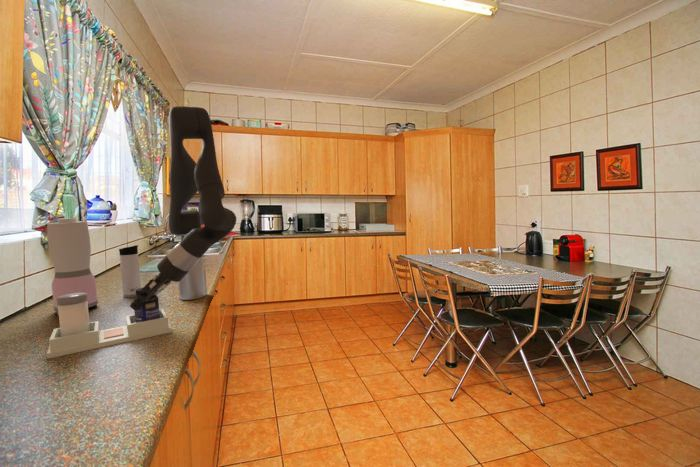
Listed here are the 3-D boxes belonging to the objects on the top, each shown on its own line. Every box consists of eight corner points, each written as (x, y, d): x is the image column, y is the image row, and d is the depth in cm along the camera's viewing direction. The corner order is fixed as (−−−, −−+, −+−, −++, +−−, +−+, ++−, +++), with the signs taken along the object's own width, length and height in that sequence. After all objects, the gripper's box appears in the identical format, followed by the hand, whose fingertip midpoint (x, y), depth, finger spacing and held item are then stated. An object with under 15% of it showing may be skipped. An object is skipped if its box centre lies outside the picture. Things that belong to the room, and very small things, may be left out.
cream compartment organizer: (166, 321, 109) (163, 279, 108) (172, 332, 100) (168, 286, 99) (52, 344, 94) (46, 295, 93) (47, 358, 85) (40, 304, 84)
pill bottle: (149, 330, 98) (146, 291, 97) (130, 330, 99) (126, 291, 98) (165, 323, 104) (162, 286, 103) (147, 322, 105) (143, 285, 104)
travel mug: (136, 297, 139) (131, 246, 137) (119, 297, 139) (114, 247, 137) (145, 293, 145) (141, 244, 143) (129, 293, 145) (125, 244, 143)
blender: (90, 312, 121) (80, 218, 118) (47, 317, 117) (35, 220, 114) (106, 300, 136) (98, 216, 132) (68, 304, 132) (58, 218, 129)
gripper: (178, 248, 107) (141, 289, 107) (158, 256, 93) (115, 302, 93) (198, 265, 108) (161, 305, 108) (181, 275, 94) (138, 321, 94)
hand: (139, 303), depth 100 cm, fingers open, 7 cm apart
